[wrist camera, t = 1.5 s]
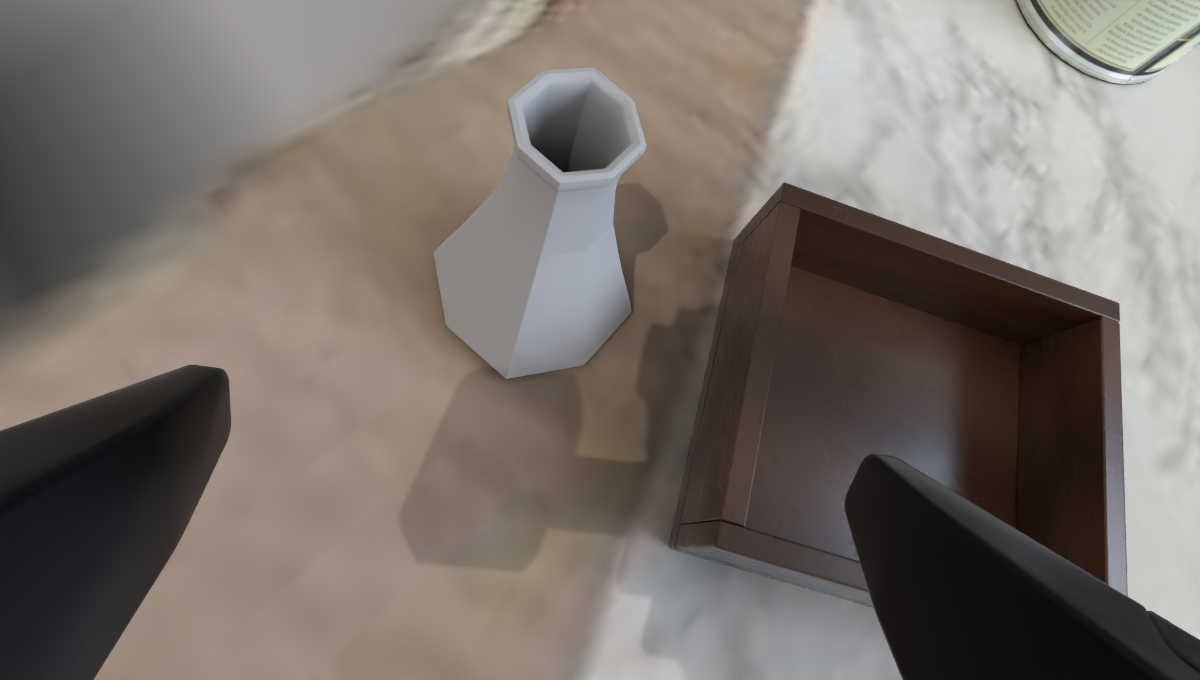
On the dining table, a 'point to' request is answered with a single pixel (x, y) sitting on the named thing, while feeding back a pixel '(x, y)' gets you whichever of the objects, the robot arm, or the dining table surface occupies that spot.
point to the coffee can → (1116, 34)
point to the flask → (546, 231)
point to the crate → (897, 396)
